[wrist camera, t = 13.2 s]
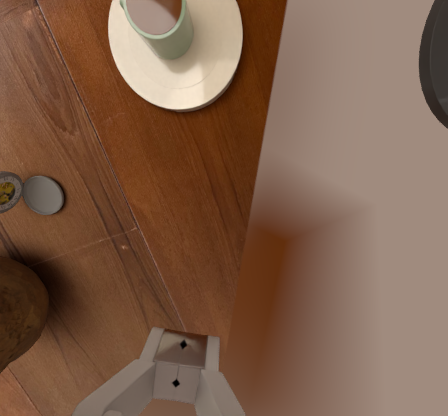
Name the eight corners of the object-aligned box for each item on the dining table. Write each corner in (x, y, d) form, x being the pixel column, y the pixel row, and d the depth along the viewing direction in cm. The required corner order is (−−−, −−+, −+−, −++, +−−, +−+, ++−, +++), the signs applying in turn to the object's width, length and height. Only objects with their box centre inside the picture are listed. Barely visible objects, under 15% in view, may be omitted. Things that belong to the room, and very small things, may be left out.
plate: (253, -18, 30) (255, -32, 28) (229, 122, 35) (229, 120, 33) (120, -46, 30) (111, -63, 27) (113, 100, 34) (105, 96, 32)
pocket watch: (72, 208, 39) (20, 228, 29) (28, 219, 40) (-36, 242, 30) (52, 161, 37) (-11, 166, 27) (6, 174, 38) (-71, 183, 28)
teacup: (197, 5, 29) (189, -31, 23) (190, 64, 31) (181, 44, 25) (138, -7, 29) (115, -46, 23) (134, 53, 31) (111, 30, 25)
